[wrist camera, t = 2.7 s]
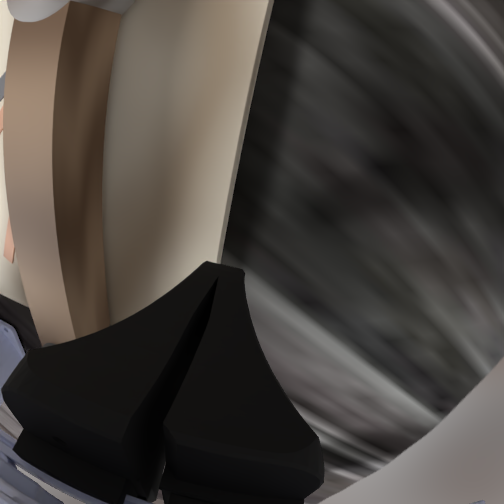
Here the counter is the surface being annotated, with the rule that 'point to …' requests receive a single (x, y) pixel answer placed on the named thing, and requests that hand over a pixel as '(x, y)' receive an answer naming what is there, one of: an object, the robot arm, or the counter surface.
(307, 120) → the counter surface
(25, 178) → the lever
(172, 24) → the board
